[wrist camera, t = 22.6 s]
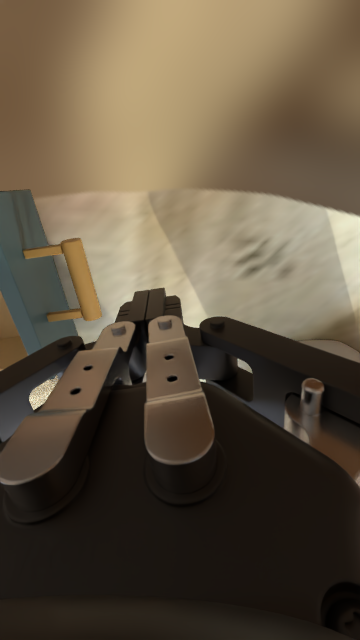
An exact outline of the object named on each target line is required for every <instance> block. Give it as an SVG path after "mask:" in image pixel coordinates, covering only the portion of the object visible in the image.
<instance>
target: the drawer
mask: <svg viewBox="0 0 360 640" xmlns="http://www.w3.org/2000/svg"><path fill="white" fill-rule="evenodd" d="M63 253H64V256H65V259H66V263H67V266H68V269H69V272H70V275H71V279H72V282H73V285H74V288H75V292H76V295H77V298H78V301H79V305H80V308H79V309H71V310H70V309H69V306H68V303H67V300H66V297H65V294H64V291H63V288H62V285H61V282H60V279H59V276H58V273H57V270H56V267H55V264H54V261H53V258H52V255H57V254H63ZM101 316H102V313H101V309H100V306H99V302H98V298H97V295H96V291H95V288H94V284H93V280H92V277H91V273H90V270H89V266H88V262H87V259H86V255H85V252H84V248H83V244H82V241H81V239H80V238H73V239H68V240H64V241H62V242H61V244H58V245H51V246H48V243H47V239H46V236H45V233H44V230H43V227H42V224H41V221H40V218H39V215H38V212H37V209H36V206H35V203H34V200H33V197H32V194H31V191H30V190H13V191H0V371H1V370H3V369H5V368H7V367H8V366H10V365H12V364H14V363H16V362H18V361H19V360H21V359H23V358H25V357H27V356H29V355H30V354H32V353H34V352H36V351H38V350H39V349H41V348H43V347H45V346H47V345H49V344H50V343H52V342H54V341H56V340H58V339H60V338H63V337H67V336H78V334H77V331H76V328H75V325H74V322H73V319H75V318H82V317H84V320H86V321H92V320H96V319H98V318H100V317H101ZM55 376H56V375H55ZM55 376H53V377H51V378H50V379H54V378H55Z"/></svg>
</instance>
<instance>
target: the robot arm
mask: <svg viewBox="0 0 360 640" xmlns="http://www.w3.org/2000/svg"><path fill="white" fill-rule="evenodd" d="M237 358H238V359H240V360H243V361H245V362H246V363H247V364H248V365H249V366H250V367H251V369H252V372H253V374H252V373H250V372H248V371H246V370H244V369H242V368H240V367H238V365H237ZM56 374H57V377H58V379H59V381H58V383H57V384H56V386H55V387H54V389H53V391H52V392H51V394H50V395H49V397H48V398H47V400H46V401H45V403H44V404H42V405H41V406H40V407H38V408H37V409H35V410H33V408H32V406H31V404H30V402H29V395H30V393H31V392H32V390H33V389H34V388H36V387H37V386H39V385H41V384H42V383H44V382H45V381H47V380H48V379H50V378H51V377H53V376H55V375H56ZM199 379H206V383H205V382H200V380H199ZM0 640H360V363H359V362H356V361H353V360H350V359H347V358H344V357H341V356H338V355H336V354H333V353H330V352H327V351H324V350H321V349H318V348H315V347H312V346H309V345H306V344H304V343H301V342H298V341H295V340H292V339H289V338H286V337H283V336H280V335H277V334H274V333H272V332H269V331H266V330H263V329H260V328H257V327H254V326H251V325H248V324H245V323H242V322H240V321H237V320H234V319H231V318H228V317H211V318H208V319H205V320H204V321H202V322H201V323H200V328H193V327H188V326H186V325H184V323H183V316H182V309H181V302H180V298H178V297H177V296H176V295H175V296H167V297H166V293H165V288H159V289H151V290H144V291H137V292H135V294H134V297H133V300H132V301H131V302H126V303H125V304H123V305H122V306H121V307H120V310H119V313H118V315H117V318H116V321H115V323H113V324H111V325H109V326H107V327H106V328H104V329H103V331H102V333H101V334H100V336H99V338H98V340H97V341H95V342H92V343H89V344H85V345H84V342H83V339H82V338H81V337H80V336H67V337H63V338H60V339H58V340H56V341H54V342H52V343H50V344H49V345H47V346H45V347H43V348H41V349H39V350H38V351H36V352H34V353H32V354H30V355H29V356H27V357H25V358H23V359H21V360H19V361H18V362H16V363H14V364H12V365H10V366H8V367H7V368H5V369H3V370H1V371H0Z"/></svg>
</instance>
